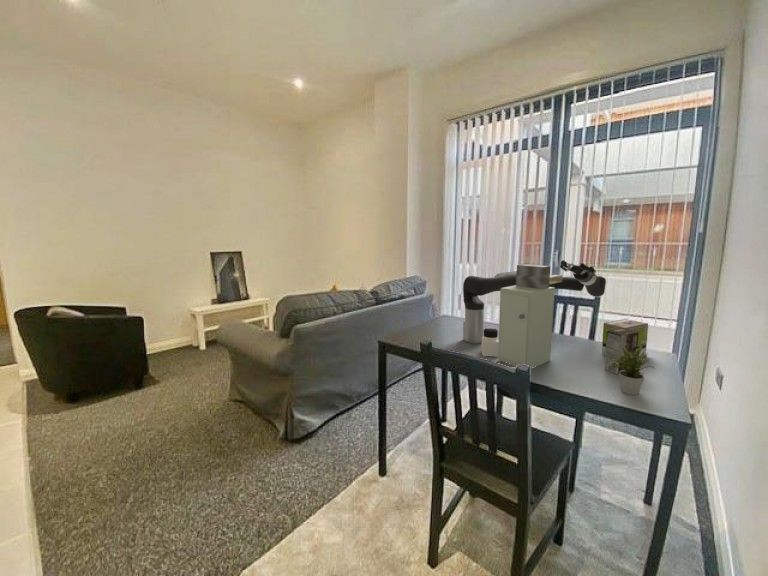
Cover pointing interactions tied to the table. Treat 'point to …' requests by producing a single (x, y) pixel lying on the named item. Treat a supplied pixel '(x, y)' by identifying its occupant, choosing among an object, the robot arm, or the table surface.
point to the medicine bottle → (490, 342)
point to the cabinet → (525, 325)
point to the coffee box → (625, 340)
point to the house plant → (631, 371)
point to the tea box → (630, 325)
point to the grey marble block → (535, 276)
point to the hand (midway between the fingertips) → (571, 263)
